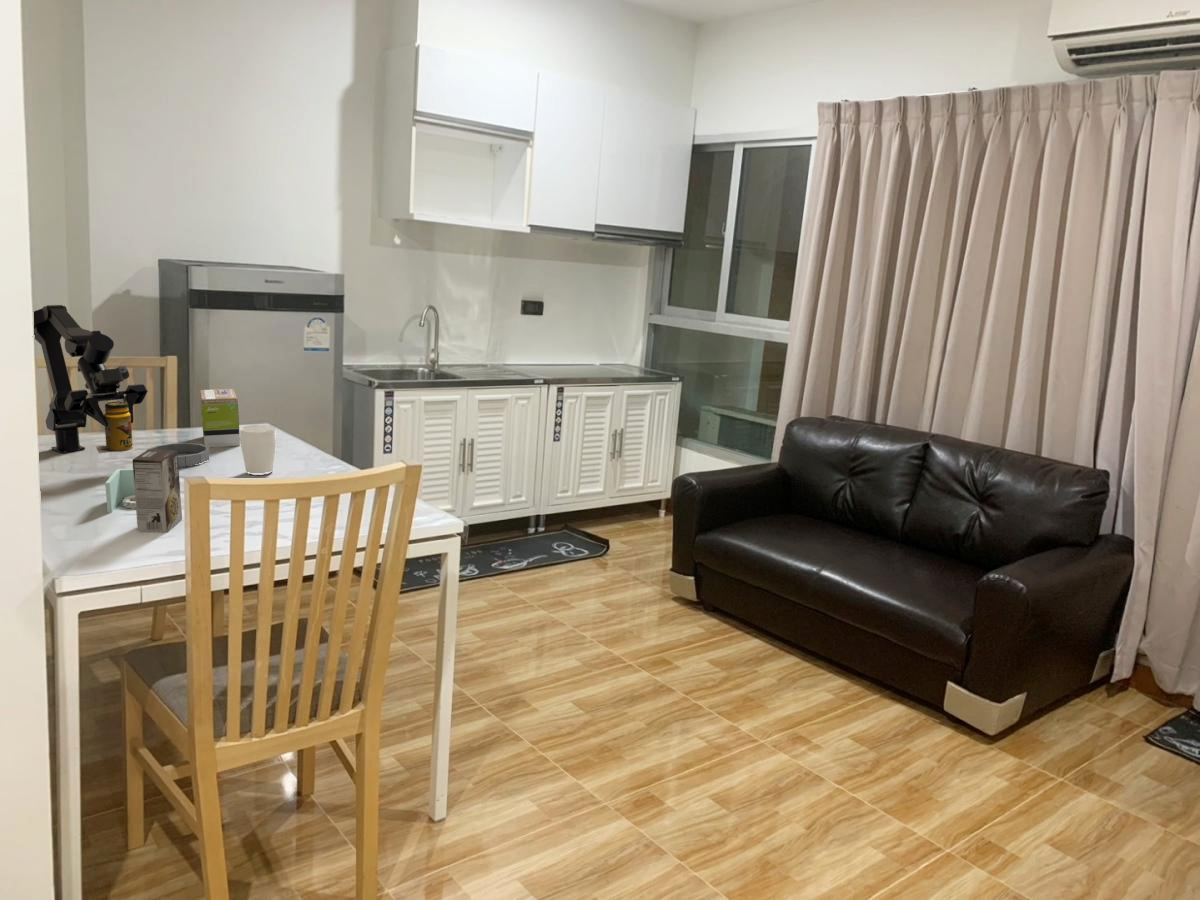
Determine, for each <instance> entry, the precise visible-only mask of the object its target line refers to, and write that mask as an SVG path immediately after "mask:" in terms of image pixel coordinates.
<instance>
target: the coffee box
mask: <svg viewBox="0 0 1200 900" xmlns="http://www.w3.org/2000/svg"><path fill="white" fill-rule="evenodd" d="M147 449H148V450H147ZM147 449H146V450H145V451H143V452H142V453H141V454H139V455H137V456H136V457H135V458H133V459H132V469H133V474H134V487H135V500H136V509H135V510H136V511H135V513H136V523H137V525H136V526H137V527H136V528H137V532H139V533H164V534H165V533H169V531H170V530H172V529H173V528H174V527H175V526H176V525H178V523H180V521H182V520H183V513H182V512H183V511H182V498H181V483H180V482H181V481H180V470H179V469H180V467H178V454H177V450H162V449H149V448H147Z"/></svg>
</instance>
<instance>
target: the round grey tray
mask: <svg viewBox="0 0 1200 900" xmlns="http://www.w3.org/2000/svg"><path fill="white" fill-rule="evenodd" d="M148 449H162V450H177V454H178V467H179V468H187V467H186V466H190V467H192V466H191V465H195V464H199V463H202V462H204V461H207V460H209V461H210V459H209V456H210V447H208V446H205V445H204V444H202V443H190V442H178V443H175V442H174V443H166V444H160V445H154V446H151V447H149V448H147V449H146V451H147V450H148Z"/></svg>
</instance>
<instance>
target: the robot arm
mask: <svg viewBox="0 0 1200 900" xmlns="http://www.w3.org/2000/svg"><path fill="white" fill-rule="evenodd" d="M34 335H35V338H34V340H35V341H36V342H38V343H39V344H40V345H41V349H42V354H43V357H44V363H45V366H46V370H47V375H48V379H49V382H50V387H51V390H52V391H51V392H52V394H53V395H52V398H51V400H50V402H49V405H48V406H49V410H48V413H47V415H46V418H45V426H46V428H47V429H48V430H49V431H52V432H54V435H55V436H54V437H55V446H51V450H53V451H56V452H58V453H60V452H63V453H68V452H75V451H81V450H82V451H83V450H85V449H86V447H85V446H83V445H81V444H80V442H81V441H80V434H79V428H86V427H87V416H88V417H90V418H92V419H93V420H95V421H96V422H98V423H99V424H101V425H102V426H104V428H105V427H107V426H108V423H107V420H106V418H105V416H104V414H105V413H104V412H103V411H102V408H101V407H100V405H99V403H101V402H112V401H119V400H120V402H127V403H128V409H129V411H128V412H129V413H130V415H131V424H133V423H134V405H139V404H142V403H143V401H144V400H145V397H146V395H147V393H149V391H148V389H147V387H146V385H144V384H142V383H138V384H137V383H136V384H127V386H126V389H125V390H123V391H122V390H121V391H118V390H117V389H120V387H121V385H120V383H121V382H124V380H127V379H128V378H129V377H130V372H129V370H128V368H127V366H126V365H122V366H118V367H117V368H108V369H107V366H106V365H105V364H106V363H107V362H108V360H109V358H110V356H111V354H112V351H113V348H114V345H115V342H114V340H113V339H112V338H111V337H109V336H108V335H106V334H104V333H101V330H89V329H84V328H83V327H82V326H80V325H79V323H77V321H76V319H74V317H72V316H71V314H70V313H69V312H68V309H67V306H65V305H62V304H47V305H44V306H43V307H42V308H39V309H37V310H34ZM62 338H63V339H64V349H65V352H66V353H67V354H68V355H69V356H70V357H71V358H75V357H76V358H78V357H79V358H78V361H77V362H76V363H77V372H79V373H81V374H82V376H83V379H84V380H85V384H84V387H85V389H77V390H73V389H72V384H71V381H70V376H69V372H68V369H67V363H66V360H65V355H64V352H63V347H62V343H61V339H62ZM87 389H89V391H90V392H88V390H87Z"/></svg>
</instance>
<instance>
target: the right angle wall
mask: <svg viewBox="0 0 1200 900" xmlns="http://www.w3.org/2000/svg"><path fill="white" fill-rule="evenodd" d="M104 485H105V496H106V507H107V509H106V510H107V513H108V512H112V513H113V512H114V511H115V510H116V508H117V507H118V505H119V504H120V503H119V502H121V501H122V506H124V508H126V509H133V510H136V500H135V487H134V474H133V468H116V470H114V472H113V473H112V474H111V475H110V477H109V478H108V479H107V480H106V481H105V483H104ZM122 498H124V499H122ZM116 506H117V507H116ZM113 510H114V511H113Z"/></svg>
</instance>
